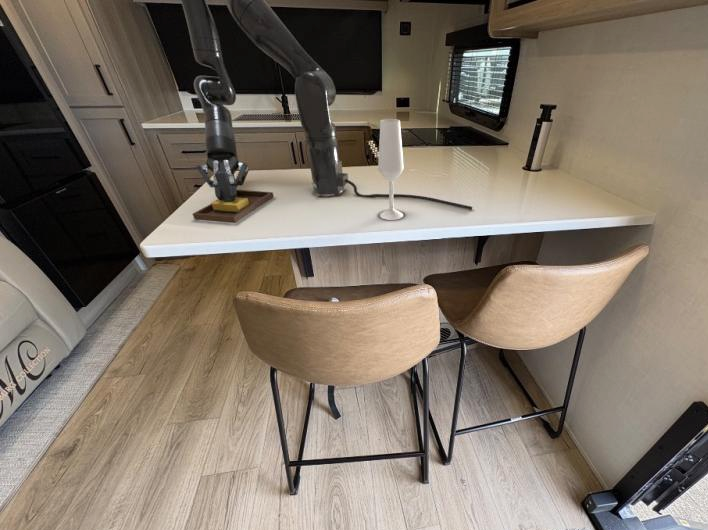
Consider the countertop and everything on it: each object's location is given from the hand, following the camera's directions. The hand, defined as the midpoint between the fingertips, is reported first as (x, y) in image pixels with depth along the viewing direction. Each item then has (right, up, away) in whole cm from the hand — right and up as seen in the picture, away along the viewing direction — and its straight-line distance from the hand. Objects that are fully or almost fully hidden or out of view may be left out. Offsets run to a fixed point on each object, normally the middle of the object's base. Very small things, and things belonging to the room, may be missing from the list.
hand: (226, 198), depth 92 cm
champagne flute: (+46, -4, +2) cm, 46 cm away
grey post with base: (-1, -2, +4) cm, 5 cm away
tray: (0, -1, +6) cm, 6 cm away
